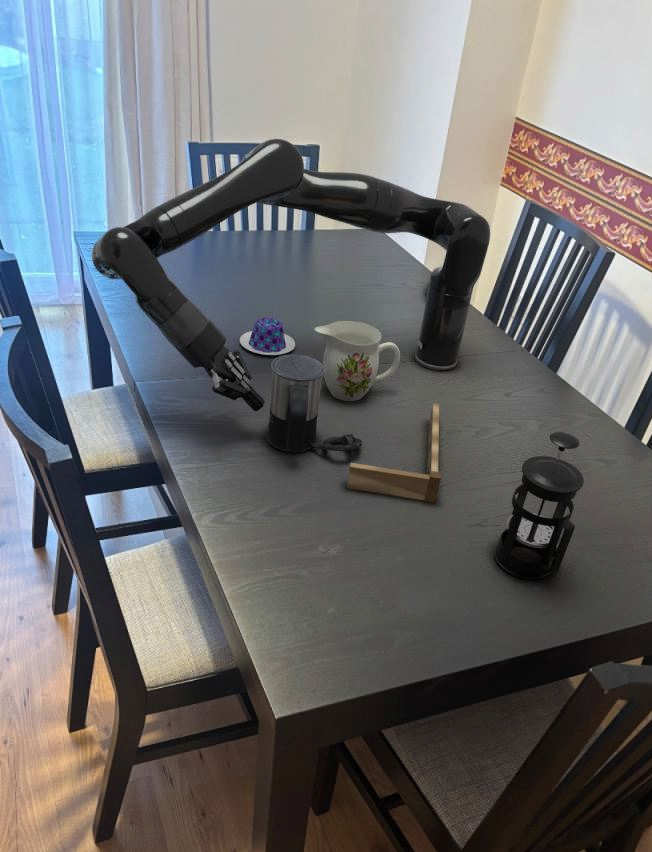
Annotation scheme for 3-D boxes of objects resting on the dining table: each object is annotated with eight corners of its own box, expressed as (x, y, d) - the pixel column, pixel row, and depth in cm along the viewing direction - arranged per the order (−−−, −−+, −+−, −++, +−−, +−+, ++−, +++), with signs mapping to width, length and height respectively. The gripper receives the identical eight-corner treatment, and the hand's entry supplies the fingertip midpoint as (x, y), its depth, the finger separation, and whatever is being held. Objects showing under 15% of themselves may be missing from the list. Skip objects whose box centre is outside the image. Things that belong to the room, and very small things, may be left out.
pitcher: (401, 406, 157) (412, 343, 149) (313, 407, 153) (320, 342, 144) (386, 379, 165) (397, 318, 157) (302, 379, 161) (308, 316, 152)
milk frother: (259, 428, 144) (263, 355, 135) (338, 419, 150) (347, 348, 141) (285, 472, 134) (291, 397, 125) (368, 460, 140) (380, 387, 131)
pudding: (261, 362, 164) (262, 339, 161) (228, 339, 171) (229, 317, 167) (306, 350, 171) (308, 328, 168) (272, 328, 178) (274, 306, 174)
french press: (479, 545, 125) (515, 423, 111) (525, 533, 129) (566, 413, 115) (524, 594, 117) (569, 469, 103) (571, 579, 121) (621, 456, 107)
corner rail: (360, 412, 153) (363, 389, 150) (436, 424, 153) (441, 401, 150) (346, 489, 133) (350, 464, 130) (434, 503, 133) (440, 478, 130)
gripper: (186, 328, 138) (252, 399, 146) (165, 362, 128) (237, 437, 135) (216, 304, 135) (282, 378, 142) (197, 337, 124) (269, 415, 132)
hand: (260, 407), depth 139 cm, fingers closed
